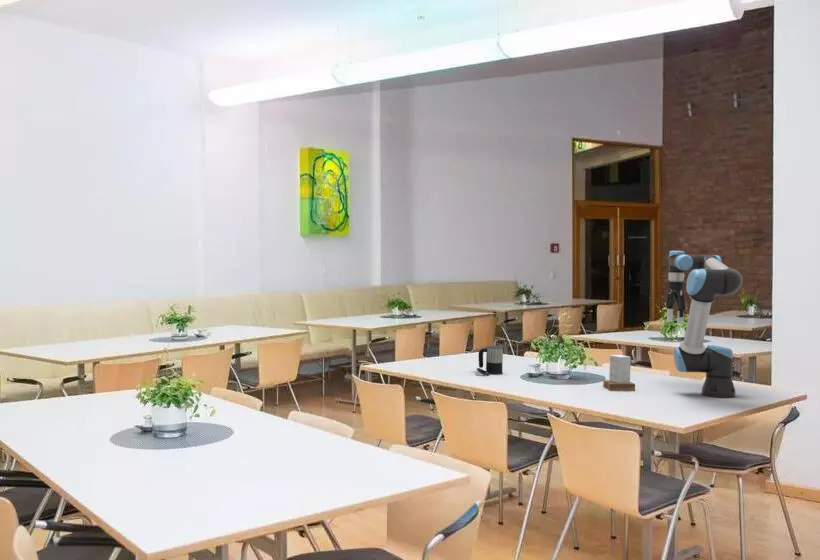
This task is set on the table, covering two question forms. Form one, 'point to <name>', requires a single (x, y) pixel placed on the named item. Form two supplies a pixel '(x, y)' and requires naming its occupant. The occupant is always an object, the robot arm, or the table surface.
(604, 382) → the walnut block
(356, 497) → the table surface
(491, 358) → the milk frother
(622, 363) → the small box
